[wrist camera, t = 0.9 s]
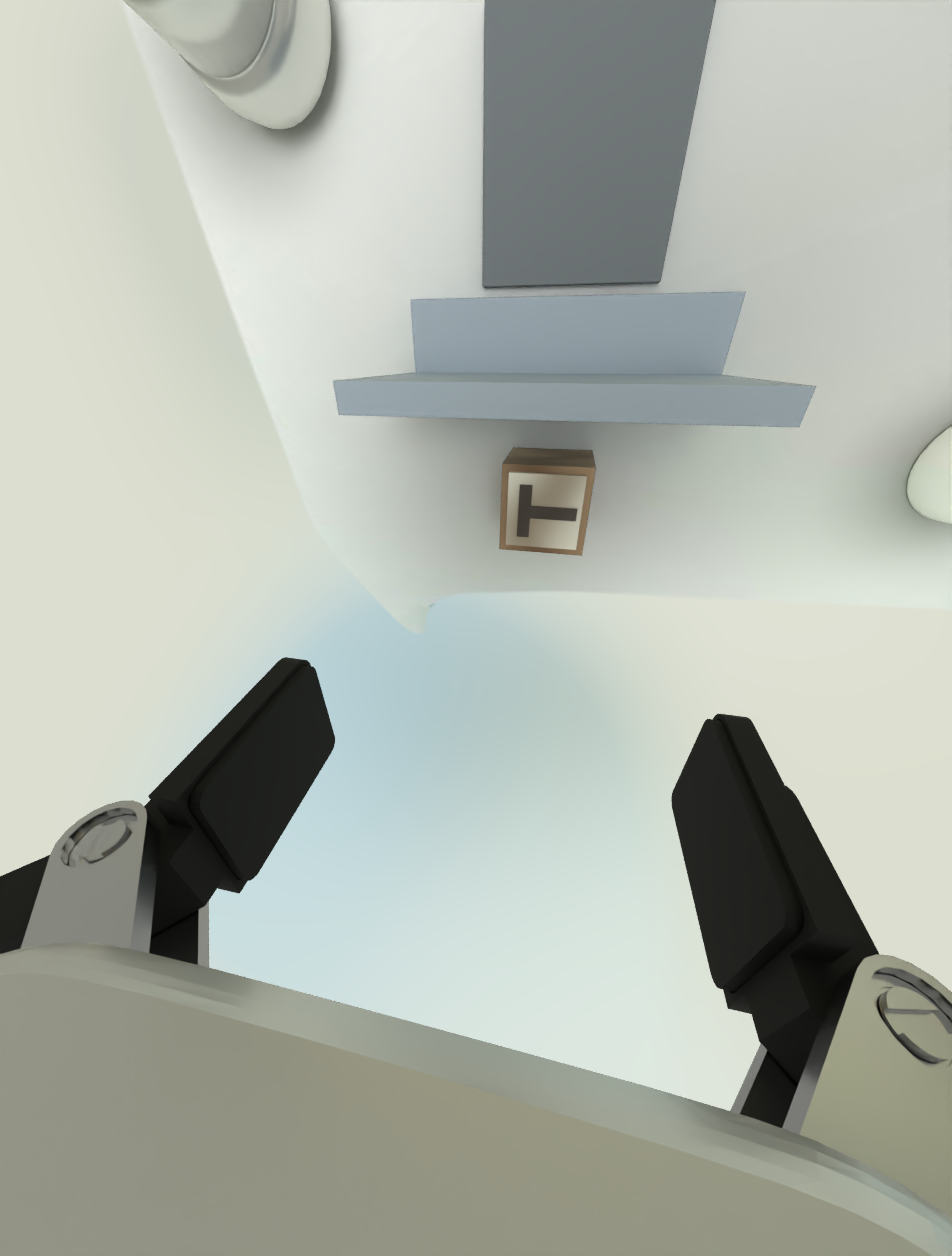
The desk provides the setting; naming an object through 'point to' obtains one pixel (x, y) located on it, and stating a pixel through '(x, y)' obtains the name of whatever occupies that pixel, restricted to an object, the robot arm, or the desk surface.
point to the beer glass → (933, 480)
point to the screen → (577, 363)
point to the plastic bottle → (250, 51)
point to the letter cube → (546, 500)
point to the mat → (586, 136)
